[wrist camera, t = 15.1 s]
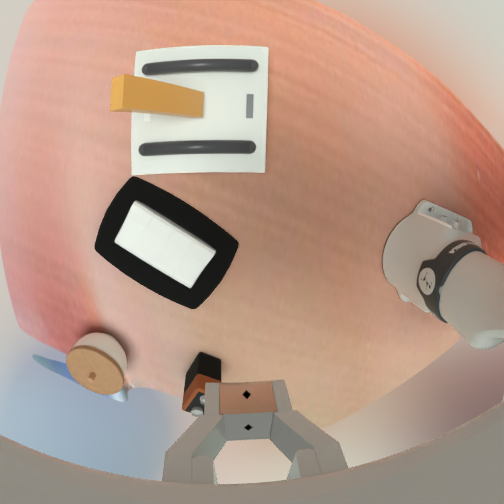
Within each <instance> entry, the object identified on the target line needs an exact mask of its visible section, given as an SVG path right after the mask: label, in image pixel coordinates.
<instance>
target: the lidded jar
mask: <svg viewBox="0 0 504 504" xmlns="http://www.w3.org/2000/svg"><path fill="white" fill-rule="evenodd" d="M66 364H67V367H68V370H69V372H70V373H71V375H72V376H73V378H74V379H75V380H76V381H77V382H78V383H80V384H81V385H82V386H84V387H85V388H87V389H89V390H91V391H93V392H95V393H99V394H105V395H110V394H115V393H117V392H119V391H120V390H121V389H122V387H123V384H124V379H125V375H126V370H127V359H126V355H125V352H124V350H123V348H122V347H121V345H120V344H119V342H118V341H117V340H116V339H115V338H114V337H112V336H111V335H109V334H106V333H89V334H87V335H85V336H83V337H82V338H80V339H79V340H78V341H77V342H76V343H75V345H74V346H73V348H72V349H71V350H70V351H69V353H68V355H67V357H66Z"/></svg>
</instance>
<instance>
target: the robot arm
mask: <svg viewBox="0 0 504 504" xmlns="http://www.w3.org/2000/svg"><path fill="white" fill-rule="evenodd" d="M429 208H430V209H429ZM383 270H384V274H385V277H386V279H387V280H388V282H389V283H390V284H391V285H392V286H393V287H395V288H396V289H397V291H398V295H399V297H400V299H401V300H403V301H404V302H408V301H411V302H413V303H414V304H415V305H417V306H418V307H419V308H421V309H422V310H423V311H425V312H427V313H429V312H432V314H433V315H434V316H435V317H437V318H438V319H440V320H441V321H443V322H445V323H448V324H449V325H451V326H452V327H453V328H454V329H455V330H456V331H457V332H458V333H459V334H460V335H461V336H462V337H463V338H464V339H465V340H466V341H467V342H468V343H469V344H470V345H471V346H472V347H474V348H476V349H481V350H482V349H490V348H493V347H496V346H498V345H499V344H501V343H502V342H504V264H503V263H501V262H499V261H497V260H495V259H493V258H491V257H489V256H488V255H487V254H486V253H485V251H484V250H483V249H482V248H481V240H480V238H479V236H477V235H475V234H473V229H472V222H471V221H470V220H469V219H467V218H465V217H463V216H461V215H459V214H457V213H454V212H452V211H450V210H448V209H445V208H443V207H441V206H438V205H436V204H434V203H431V202H429V201H427V200H422V201H420V202H419V204H418V205H417V206H416V208H415V209H414V211H413V212H412V213H411V214H410V215H409V216H407V217H406V218H405V219H403V220H402V221H401V222H400V223H399V224H398V225H397V226H396V227H395V229H394V230H393V231H392V233H391V235H390V236H389V238H388V240H387V243H386V246H385V249H384V253H383ZM248 439H270V440H271V441H272V442H273V443H274V444H275V445H276V447H277V448H278V449H279V450H280V451H281V452H282V453H283V454H284V455H285V456H286V457H287V458H288V459H289V460H290V461H291V462H292V465H291V468H290V471H289V474H288V477H287V480H282V481H274V482H262V483H248V484H217V478H216V473H215V467H214V462H213V461H214V459H215V458H216V456H217V455H218V453H219V452H220V450H221V449H222V447H223V446H224V444H225V443H226V441H229V440H248ZM0 504H504V396H503V399H502V402H501V403H499V404H497V405H495V406H494V407H492V408H491V409H489V410H487V411H486V412H484V413H482V414H481V415H479V416H477V417H475V418H474V419H472V420H470V421H469V422H467V423H465V424H463V425H461V426H459V427H457V428H455V429H453V430H451V431H449V432H447V433H445V434H443V435H441V436H439V437H436V438H434V439H432V440H430V441H427V442H425V443H423V444H420V445H418V446H416V447H413V448H411V449H408V450H405V451H403V452H400V453H397V454H394V455H392V456H389V457H386V458H382V459H379V460H377V461H373V462H370V463H367V464H363V465H359V466H355V467H351V468H348V466H347V463H346V461H345V458H344V456H343V452H342V450H341V447H340V444H339V442H338V441H336V440H335V439H333V438H332V437H330V436H329V435H328V434H327V433H325V432H324V431H323V430H321V429H320V428H319V427H317V426H316V425H315V424H313V423H312V422H311V421H309V420H308V419H307V418H306V417H304V416H303V415H302V414H300V413H299V412H298V411H297V410H294V411H293V410H292V406H291V403H290V399H289V395H288V391H287V387H286V384H285V381H284V380H274V381H259V382H245V383H206V385H205V407H204V415H200V416H199V417H198V418H197V419H196V420H195V421H194V423H193V424H192V425H191V426H190V427H189V428H188V429H187V430H186V431H185V433H183V434H182V436H181V437H180V438H179V439H178V440H177V441H176V442H175V443H174V444H173V445H172V446H171V447H170V448H169V449H168V450H167V451H166V453H165V460H164V469H163V479H162V481H155V480H147V479H140V478H134V477H128V476H123V475H118V474H113V473H108V472H103V471H99V470H95V469H91V468H87V467H84V466H80V465H77V464H73V463H70V462H67V461H64V460H60V459H57V458H55V457H52V456H49V455H46V454H43V453H41V452H38V451H36V450H33V449H30V448H28V447H26V446H23V445H21V444H19V443H17V442H15V441H12V440H10V439H8V438H6V437H4V436H2V435H0Z"/></svg>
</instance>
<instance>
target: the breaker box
mask: <svg viewBox="0 0 504 504" xmlns="http://www.w3.org/2000/svg"><path fill="white" fill-rule="evenodd" d="M268 48H269V47H259V46H237V45H206V46H184V47H171V48H161V49H152V50H144V51H137V52H136V60H135V70H134V76H138V77H143V78H148V79H153V80H157V81H162V82H166V83H170V84H174V85H178V86H182V87H186V88H190V89H194V90H197V91H201V92H204V96H203V117H198V118H186V117H178V116H169V115H159V114H147V113H133V112H132V127H131V163H132V175H144V174H163V173H194V172H253V173H265V155H266V124H267V89H268Z"/></svg>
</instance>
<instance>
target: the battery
mask: <svg viewBox="0 0 504 504" xmlns="http://www.w3.org/2000/svg"><path fill="white" fill-rule="evenodd" d="M206 383H221V360H219V359H216V358H214V357H211V356H208V355H206V354H203V353H199V354H198V356H197V357H196V359H195V361H194V362H193V364H192V365H191V367H190V369H189V370H188V372H187V374H186V379H185V387H184V396H183V405H182V409H183V410H184V411H187V412H190V413H191V414H192V416H195V417H199V416H200V415H204V407H205V385H206Z"/></svg>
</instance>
